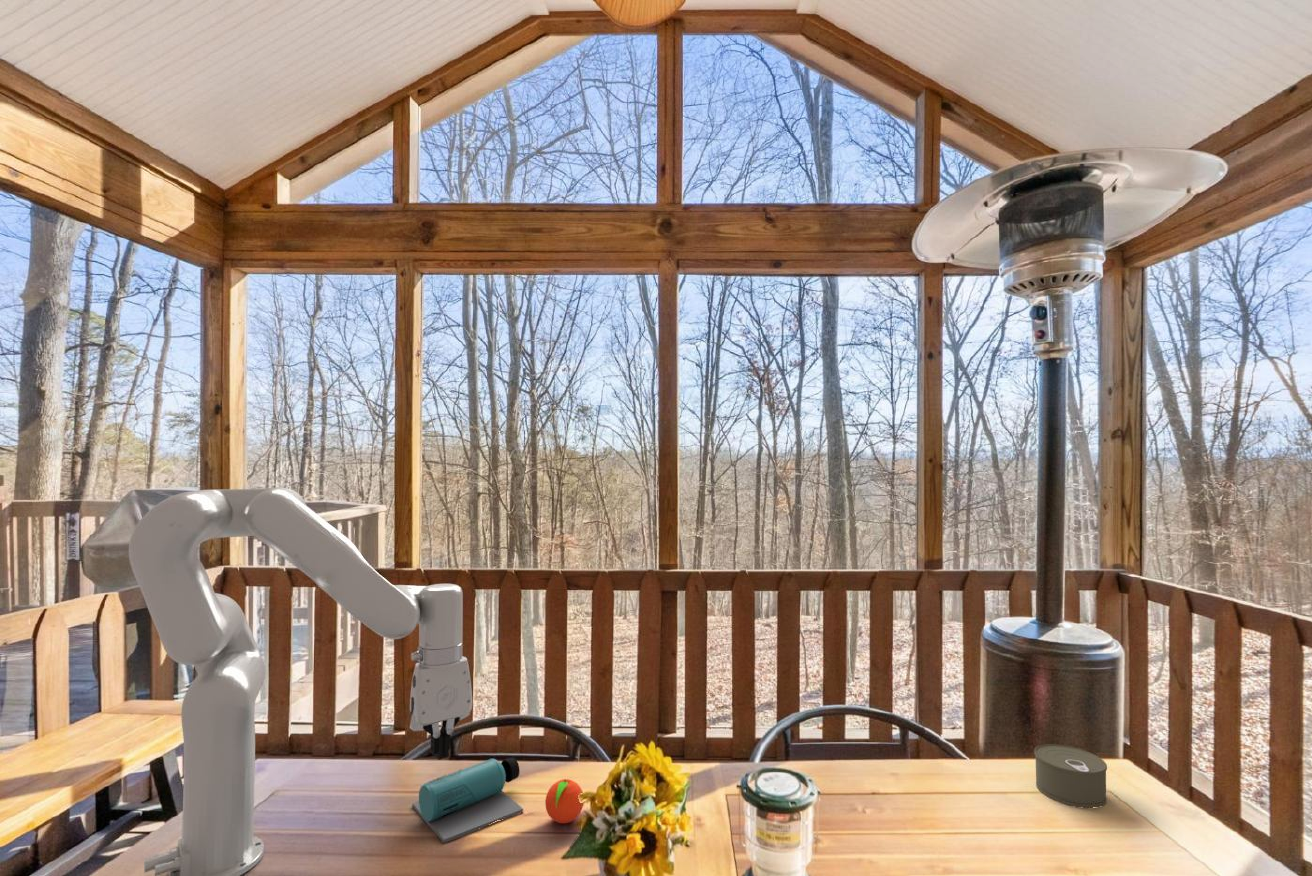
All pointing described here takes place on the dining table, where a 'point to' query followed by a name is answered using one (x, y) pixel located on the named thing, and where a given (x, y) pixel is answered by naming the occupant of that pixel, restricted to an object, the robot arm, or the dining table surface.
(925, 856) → the dining table surface
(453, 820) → the mat
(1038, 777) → the can
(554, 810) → the clementine
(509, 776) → the beverage bottle
